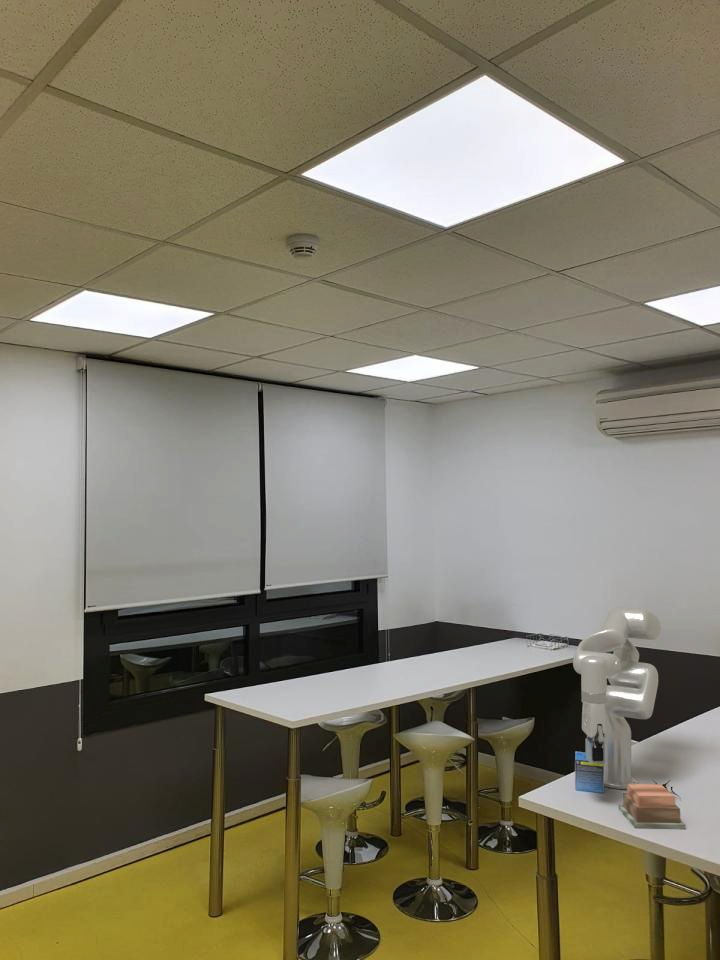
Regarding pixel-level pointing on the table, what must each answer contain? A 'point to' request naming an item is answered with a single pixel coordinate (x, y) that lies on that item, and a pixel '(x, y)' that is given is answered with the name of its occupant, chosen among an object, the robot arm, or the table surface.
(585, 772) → the label tape box
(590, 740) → the slate brick
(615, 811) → the table surface
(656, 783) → the creature
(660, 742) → the table surface
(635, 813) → the stepped plate stack
